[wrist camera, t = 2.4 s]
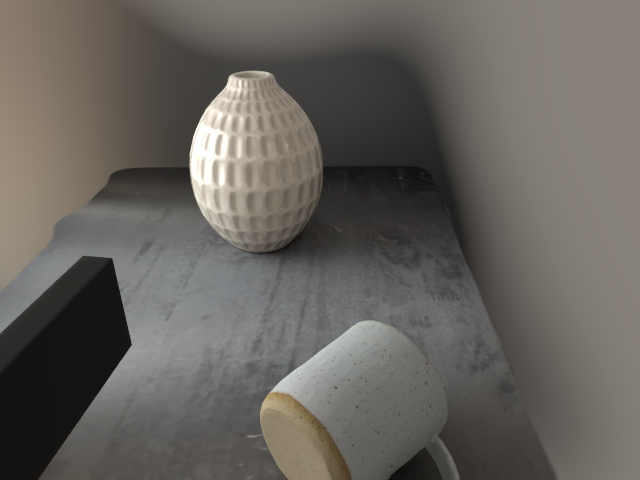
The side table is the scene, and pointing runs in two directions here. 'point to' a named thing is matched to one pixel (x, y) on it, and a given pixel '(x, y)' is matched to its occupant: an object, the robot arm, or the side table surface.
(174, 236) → the side table surface
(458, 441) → the side table surface
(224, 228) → the vase
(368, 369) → the ceramic mug
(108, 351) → the robot arm
